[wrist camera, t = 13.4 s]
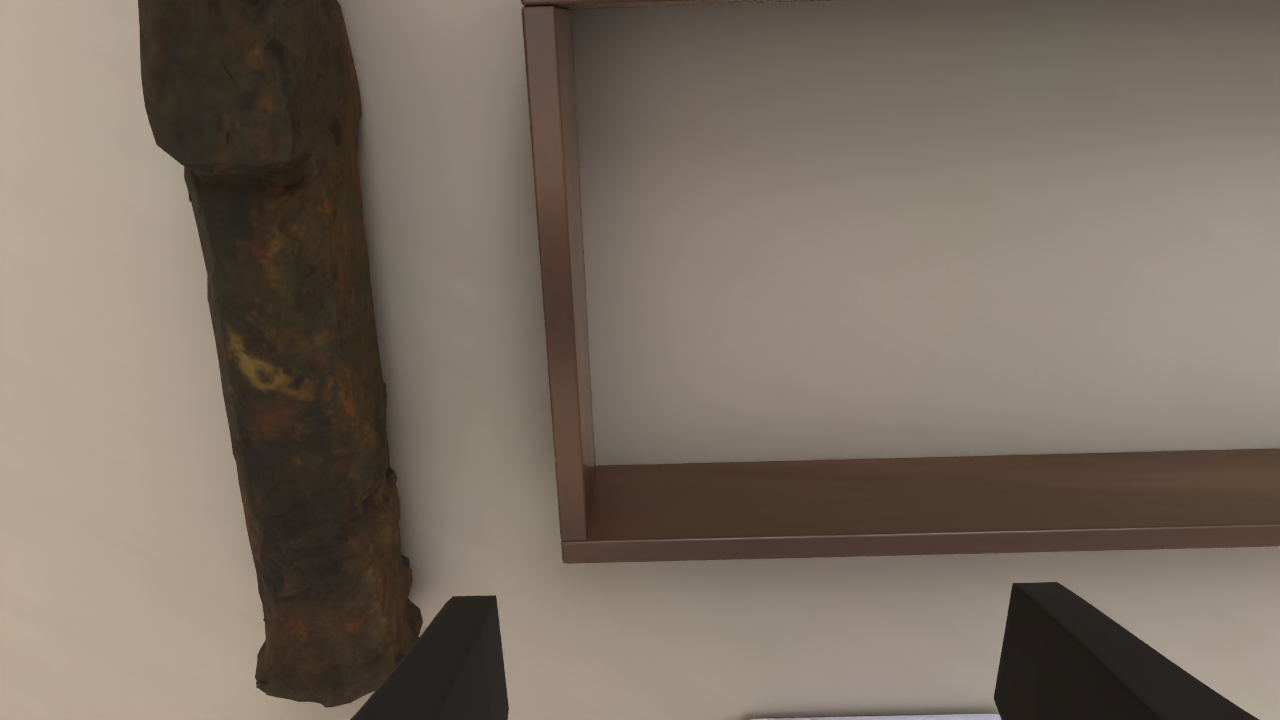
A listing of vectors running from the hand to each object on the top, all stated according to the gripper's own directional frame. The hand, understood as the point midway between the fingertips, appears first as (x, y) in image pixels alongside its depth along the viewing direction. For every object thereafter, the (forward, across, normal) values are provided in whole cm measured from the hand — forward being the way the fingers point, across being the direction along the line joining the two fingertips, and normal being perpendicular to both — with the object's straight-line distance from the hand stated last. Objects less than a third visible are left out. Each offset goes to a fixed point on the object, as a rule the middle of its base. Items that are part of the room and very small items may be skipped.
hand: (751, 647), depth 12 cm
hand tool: (+10, +10, -2) cm, 14 cm away
